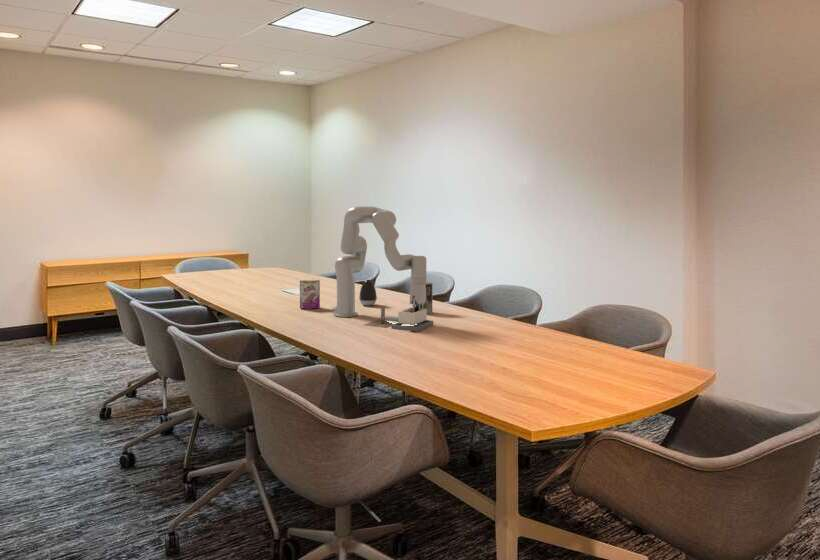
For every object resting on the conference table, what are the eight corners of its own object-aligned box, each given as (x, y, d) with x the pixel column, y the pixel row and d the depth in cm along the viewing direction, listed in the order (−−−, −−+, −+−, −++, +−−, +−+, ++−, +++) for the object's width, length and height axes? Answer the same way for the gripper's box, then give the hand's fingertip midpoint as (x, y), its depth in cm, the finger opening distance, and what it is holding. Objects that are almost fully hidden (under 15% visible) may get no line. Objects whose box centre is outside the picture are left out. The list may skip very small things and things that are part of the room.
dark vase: (357, 304, 361) (357, 278, 358) (375, 303, 363) (375, 278, 361) (360, 307, 351) (360, 281, 349) (378, 306, 353) (378, 280, 351)
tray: (391, 329, 291) (391, 325, 291) (408, 322, 308) (409, 318, 308) (416, 332, 285) (416, 327, 285) (433, 325, 302) (433, 320, 302)
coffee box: (432, 311, 337) (433, 283, 335) (431, 314, 331) (432, 284, 329) (416, 311, 338) (416, 282, 336) (415, 313, 332) (415, 284, 330)
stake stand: (362, 326, 298) (362, 310, 297) (379, 320, 313) (379, 304, 312) (386, 329, 292) (386, 312, 291) (402, 322, 308) (402, 307, 307)
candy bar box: (299, 309, 343) (299, 280, 341) (300, 307, 348) (299, 279, 345) (320, 308, 344) (319, 280, 342) (320, 307, 349) (319, 279, 347)
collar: (398, 323, 292) (398, 311, 291) (411, 318, 304) (411, 307, 304) (414, 324, 288) (414, 313, 288) (426, 319, 301) (426, 308, 300)
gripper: (418, 278, 308) (418, 314, 311) (404, 282, 294) (404, 319, 297) (432, 279, 305) (431, 315, 307) (418, 283, 291) (418, 321, 293)
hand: (418, 317), depth 302 cm, fingers closed on collar, 1 cm apart
